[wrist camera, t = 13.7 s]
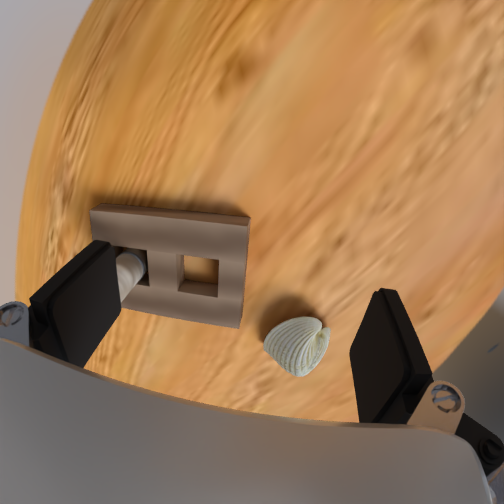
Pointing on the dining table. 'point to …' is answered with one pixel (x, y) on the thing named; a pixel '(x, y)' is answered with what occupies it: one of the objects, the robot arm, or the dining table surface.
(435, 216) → the dining table surface
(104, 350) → the dining table surface
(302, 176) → the dining table surface
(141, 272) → the grey domed cylinder
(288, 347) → the seashell
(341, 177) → the dining table surface
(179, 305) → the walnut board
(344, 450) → the robot arm
